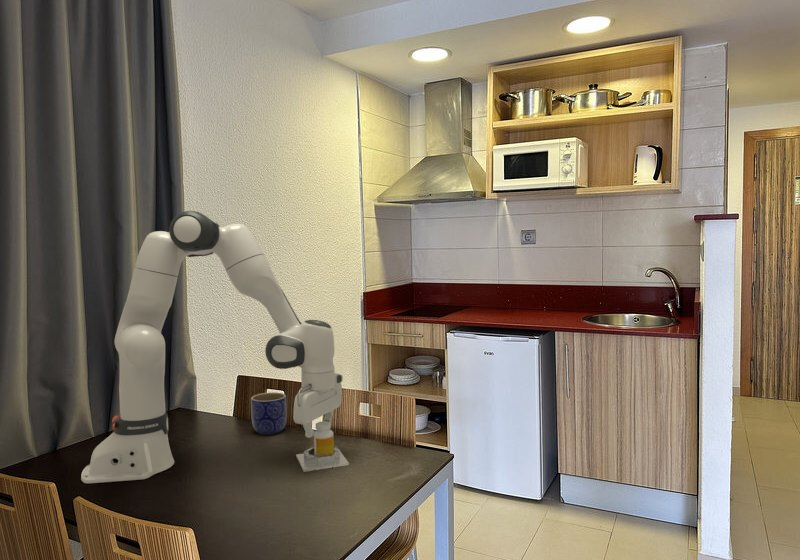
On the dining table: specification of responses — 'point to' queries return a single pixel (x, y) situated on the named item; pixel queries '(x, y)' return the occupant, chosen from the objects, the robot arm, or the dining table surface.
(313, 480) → the dining table surface
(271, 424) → the planter
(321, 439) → the supplement bottle
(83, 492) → the dining table surface
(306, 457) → the glass ashtray
